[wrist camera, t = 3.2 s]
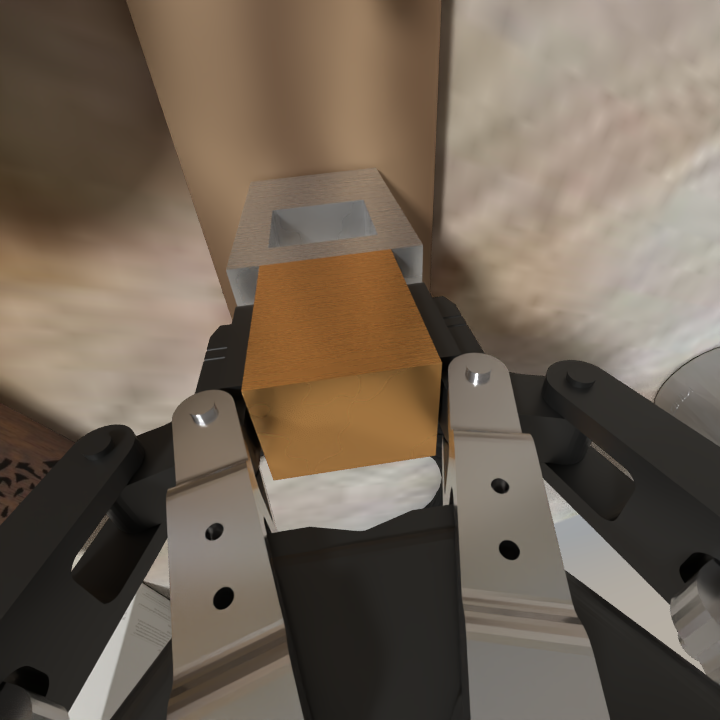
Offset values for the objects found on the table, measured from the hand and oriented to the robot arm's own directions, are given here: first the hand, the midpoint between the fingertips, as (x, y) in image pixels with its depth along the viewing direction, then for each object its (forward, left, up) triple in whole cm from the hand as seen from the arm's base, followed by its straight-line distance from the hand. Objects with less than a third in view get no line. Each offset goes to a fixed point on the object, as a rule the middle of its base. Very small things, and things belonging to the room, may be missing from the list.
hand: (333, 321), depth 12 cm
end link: (0, +3, -10) cm, 11 cm away
